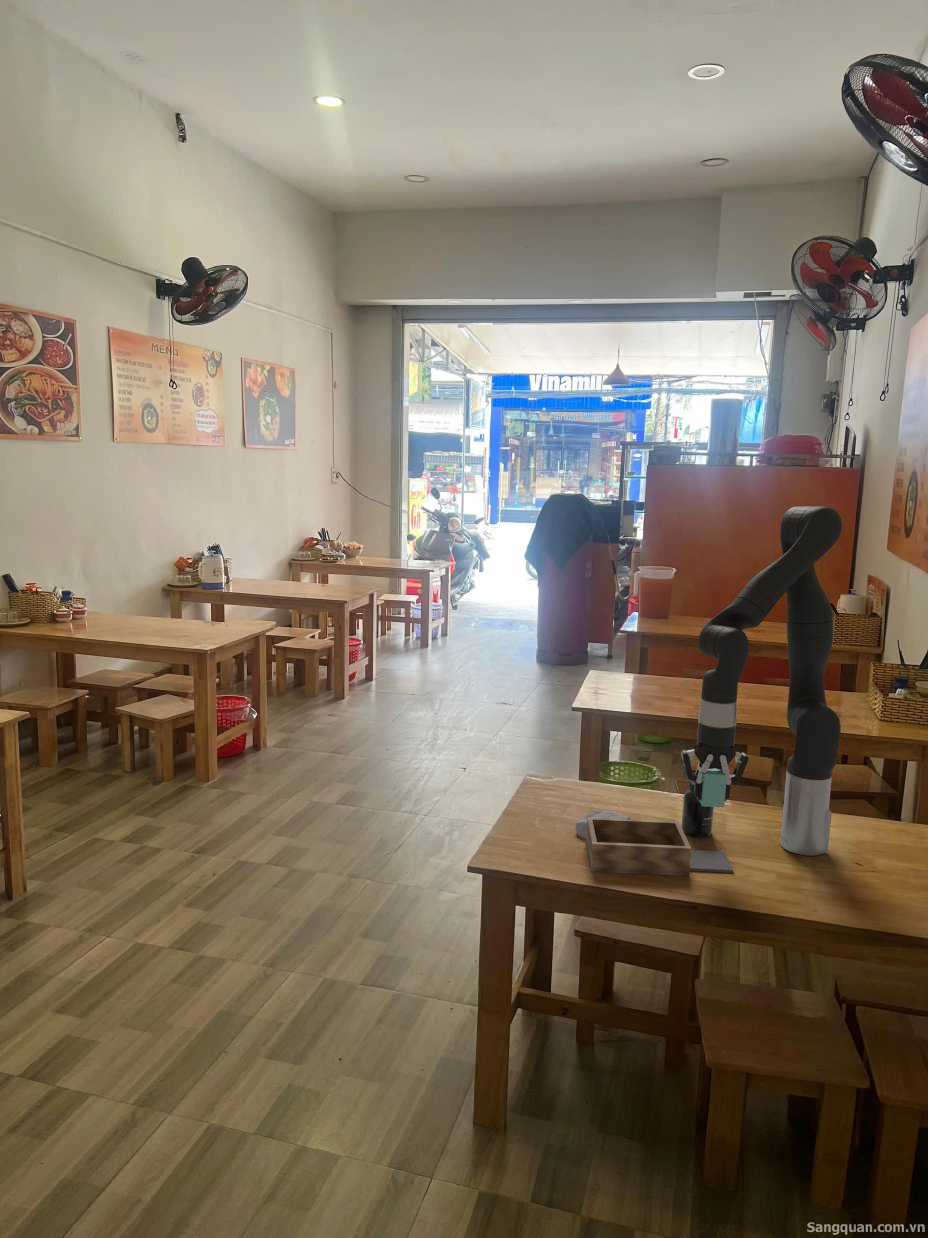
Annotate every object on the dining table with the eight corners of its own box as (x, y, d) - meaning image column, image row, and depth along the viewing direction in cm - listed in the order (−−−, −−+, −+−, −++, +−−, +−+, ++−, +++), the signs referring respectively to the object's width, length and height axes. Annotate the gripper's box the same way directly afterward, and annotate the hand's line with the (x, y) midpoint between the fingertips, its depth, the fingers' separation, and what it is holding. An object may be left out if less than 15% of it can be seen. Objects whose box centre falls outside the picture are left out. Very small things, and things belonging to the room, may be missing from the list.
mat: (723, 854, 190) (723, 851, 190) (733, 873, 181) (733, 870, 181) (681, 852, 190) (681, 849, 190) (689, 870, 181) (689, 868, 181)
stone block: (572, 843, 199) (611, 846, 193) (569, 822, 199) (609, 824, 193) (596, 828, 208) (634, 831, 202) (593, 808, 208) (632, 810, 202)
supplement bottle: (711, 840, 197) (714, 789, 195) (680, 835, 199) (683, 785, 197) (712, 828, 204) (716, 779, 202) (682, 824, 206) (685, 775, 204)
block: (719, 799, 186) (721, 768, 184) (724, 807, 181) (726, 775, 180) (697, 798, 186) (700, 766, 185) (702, 806, 181) (704, 774, 180)
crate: (677, 847, 193) (678, 821, 192) (689, 876, 179) (691, 848, 178) (586, 843, 194) (587, 817, 193) (591, 871, 180) (592, 844, 179)
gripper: (747, 717, 184) (741, 794, 187) (678, 714, 185) (673, 791, 188) (757, 727, 176) (750, 808, 179) (685, 724, 177) (679, 804, 180)
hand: (710, 799), depth 183 cm, fingers closed on block, 4 cm apart
